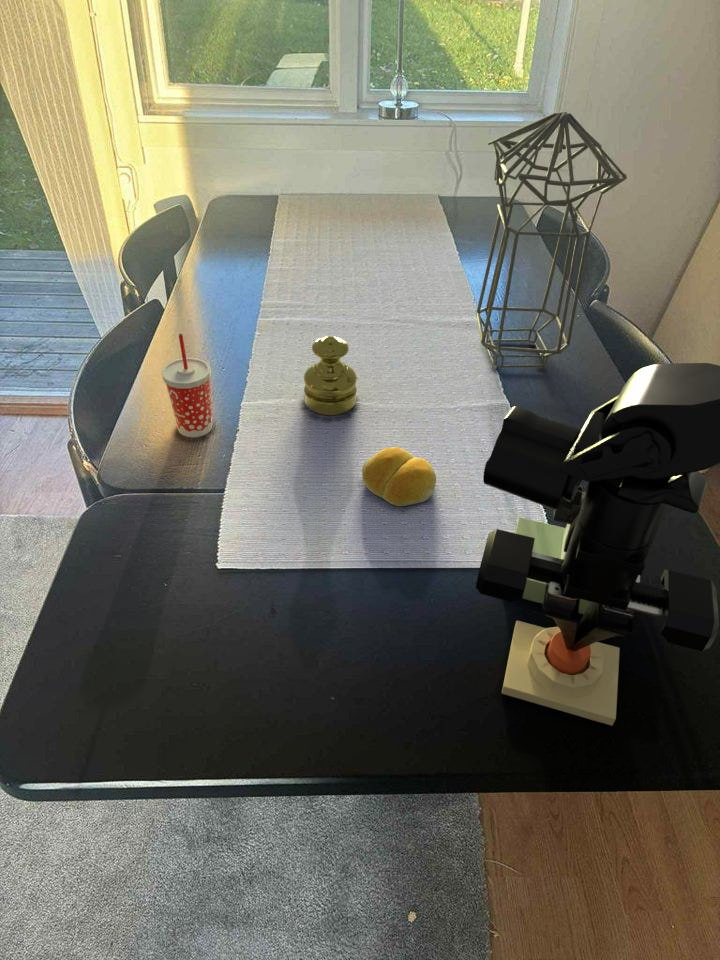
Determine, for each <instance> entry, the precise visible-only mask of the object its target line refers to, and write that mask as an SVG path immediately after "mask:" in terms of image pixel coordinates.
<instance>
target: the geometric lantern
mask: <svg viewBox="0 0 720 960" xmlns="http://www.w3.org/2000/svg"><path fill="white" fill-rule="evenodd" d="M569 126H570V127H571V128H572V129H573V131H574V132H575V133H576V135H578V137H579V138H580V139H581V140H582V142H577V143H571V137H570V136H571V135H570V127H569ZM557 129H558V131H557V135H556V138H555V142H554V143H547V142H548V141H549V139H550V138H551V136H552V135H553V134H554V133H555V131H556V130H557ZM529 132H530V133H529ZM527 133H529V134H528V135H527V136H525V137H524V138H522V139H521V140H520V141H514V140H512V139H515V138H517V137H519V136H522V135H524V134H527ZM564 140H565V141H564ZM564 143H565V144H564ZM500 144H501V145H502V146H503V147H505V148H506V149H507V150H506V151H504V149H503V148H502V146H501V145H500ZM491 145H492V146H493V151H494V152H493V153H494V157H495V166H494V175H493V176H494V177H493V181H495V184H496V186H498V191H499V199H500V203H497V210H498V214H497V219H496V222H495V228H494V232H493V237H492V241H491V246H490V249H489V254H488V259H487V263H486V268H485V272H484V277H483V281H482V286H481V290H480V295H479V298H478V303H477V307H476V312H475V315H476V319H477V326H478V332H479V339H480V344H481V345H482V347H484V348H485V349H486V351H487V354H488V356H489V359H490V361H491V364H492V366H494V367H496V368H500V369H501V368H544V367H545V365H546V364H547V362H548V359H549V357H551V356H554V355H560V354H562V353H563V352H564V351H565V350H566V349H568V348H569V347H570V345H571V338H572V332H573V327H574V323H575V317H576V312H577V306H578V301H579V297H580V291H581V286H582V281H583V275H584V269H585V265H586V260H587V254H588V248H589V244H590V240H591V239H590V238H591V231H592V228H593V225H594V221H595V219H596V215H597V213H598V210H599V206H600V203H601V200H602V198H603V195H604V194H606V193H607V192H609V191H610V190H612V189H613V188H615V187H616V186H618V185H620V184H621V183H623V182H624V181H626V180H627V179H628V176H627V174H626V173H624V172H623V170H622V169H621V168H620V167H619V166H618V165H617V164H616V163H615V162H614V160H613V159H612V158H611V157H610V156H609V155H608V154H607V153H606V151H605V150H604V149H603V146H602V144H601V143H599V141H597V140H596V139H595V138H594V137H593V136H592V135H591V134H590V133H589V132H588V131H587V130H586V129H585V128H584V127H583V126H582V124H581V123H580V122H579V121H578V120H577V119H576V118H575V117H574V115H573V114H572V113H570V112H569V113H568V112H567V111H560V112H553V113H551V114H548V115H547V116H544V117H542V118H539V119H538V120H535V121H533V122H531V123H529V124H527V125H525V126H522V127H520V128H518V129H516V130H513V131H511V132H509V133H507V134H505V135H501V136H499V137H498V138H495V139H493V140H491V141H489V142H487V146H491ZM543 148H544V149H553V150H552V153H551V157H550V160H549V161H550V162H549V164H548V166H545V165H543V166H542V165H539V164H538V165H537V164H536V162H537V159H538V155H539V152H540V151H541V150H542V149H543ZM524 149H525V151H523V150H524ZM572 149H578V150H576V152H574V153H573V154H572ZM588 149H589V150H590V151H591V153H592V155H593V156H594V158H595V159H596V178H594V179H592V178H591V179H581V180H575V179H574V168H573V167H574V166H573V160H574V159H575V158H576V157H578V156H579V155H581V154H582V153H583V152H585V151H586V150H588ZM563 150H565V151H566V159H565V160H563V161H562V162H560V163H559V164H558V165H556V163H557V160H558V156H559V154H561V153H563ZM521 151H523V153H521ZM532 152H533V153H532ZM531 153H532V154H531ZM530 154H531V155H530ZM529 155H530V157H529V158H528V156H529ZM515 156H516V157H518V158H517V159H516V160H515V161H514V162H513V163H512V164H511V165H510V166H509V168H508V167H507V166H506V165H507V163H508V162H509V161H511V160H512V159H513V158H514V157H515ZM523 162H524V164H523V165H522V167H521V169H520V170H519V171H518V172H517V174H516V175H515V176H514V175H511V174H512V172H513V171H514V170H516V168H517V167H518V166H519V165H520V164H521V163H523ZM528 165H529V167H528V169H527V171H526V172H525V173H522V172H523V171H524V170H525V169H526V167H527V166H528ZM611 165H612V166H613V167H612V166H611ZM564 166H567V170H568V171H567V172H568V181H563V179H562V177H561V174H560V172H559V170H561V169H562V168H563V167H564ZM533 169H534V170H538V171H543V172H547V173H546V175H538V174H531V172H532V170H533ZM602 169H603V170H602ZM503 172H504V173H503ZM552 173H556V176H557V178H558V180H554V179H551V178H552V177H551V176H552ZM605 175H606V178H604V177H605ZM508 178H509V179H511V180H514V181H516V180H517V179H518V180H519V181H520V182H519V184H518V185H517V187H516V188H515V190H514V192H513V193H512V195H511V196H510V198H509V200H508V198H507V197H508V196H507V183H506V182H507V181H508ZM528 180H531V181H532V180H533V181H541V182H544V189H543V193H541V192H540V191H539V190H538V189H537V188H536V187H535V186H533V184H532V183H530V181H528ZM549 185H550V186H558V187H562V190H563V192H564V194H565V199H556V200H555V199H554V200H549V199H548V186H549ZM586 185H587V186H588V185H591V186H590V188H589V189H588V190H586V191H584V192H582V193H580V194H576V195H575V196H573V197H570V194H571V186H572V187H573V186H575V187H576V186H586ZM523 186H525V187H527V188H528V189H529V190H530V191H531V192H532V193H533V194H534V195H535V196H536V197H537V198H538V199H539V200H540V201H542V202H531V201H530V202H527V201H514V200H515V198H516V197H517V195H518V194H519V192H520V190H521V188H522V187H523ZM598 191H599V196H598V199H597V202H596V205H595V209H594V212H593V215H592V218H591V221H590V224H589V227H588V225H587V223H586V221H585V220H584V218H583V216H582V215H581V213H580V211H579V209H580V207H582V205H583V204H584V202H585V201H586V200H587V199H588V197H590V196H591V195H592V194H594V193H597V192H598ZM578 200H579V202H578V203H577V204H576V205H575V207H574V205H573V203H574V202H577V201H578ZM514 206H540V207H539V208H538V209H537V210H536V211H535V212H534V213H533V214H532V215H531V216H530V217H529V218H528V219H527V220H526V221H524V223H523V224H522V225H521V226H520V227H519V228H518V229H515V228H513V226H509V225H510V221H511V217H512V213H513V207H514ZM545 207H565V210H564V214H563V215H564V216H563V218H562V222H561V227H560V231H559V232H538V231H521V230H523V228H525V227H526V226H527V225H528V223H529V222H531V221H532V220H533V219H534V218H535V217H536V216H537V215H538V214H539V213H540V212H541V211H542V210H543V209H544V208H545ZM507 208H508V211H507ZM569 216H570V220H571V223H572V225H571V228H570V229H571V230H570V233H565V230H566V226H567V221H568V218H569ZM578 218H579V220H580V222H581V224H582V226H583V228H584V229H585V231H584V232H580V230H579V226H578V223H577V222H578ZM501 222H502V225H503V232H502V236H501V241H500V245H499V249H498V254H497V257H496V262H495V267H494V271H493V275H492V279H491V284H490V287H489V292H488V297H487V301H486V306H485V307H483V308H482V305H483V300H484V296H485V292H486V287H487V283H488V279H489V274H490V270H491V266H492V261H493V257H494V251H495V247H496V243H497V238H498V234H499V230H500V225H501ZM510 233H512V234H513V235H514V237H513V242H512V249H511V253H510V254H511V255H510V259H509V260H510V261H509V267H508V272H507V279H506V285H505V291H504V296H503V297H504V298H503V304H502V306H494V304H495V298H496V294H497V291H498V286H499V281H500V278H501V273H502V268H503V264H504V260H505V256H506V251H507V246H508V242H509V237H510ZM520 235H522V236H523V235H524V236H545V237H558V240H557V245H556V248H555V252H554V256H553V260H552V265H551V269H550V272H549V276H548V280H547V285H546V289H545V293H544V297H543V300H542V304H541V307H539V308H538V307H511V306H509V307H508V301H509V296H510V290H511V284H512V277H513V271H514V266H515V259H516V254H517V248H518V243H519V236H520ZM564 237H568V238H569V241H568V247H567V252H566V257H565V263H564V268H563V272H562V273H563V274H562V278H561V279H562V280H561V286H560V289H559V297H558V302H557V307H556V311H555V312H553V311H551V310H549V309H547V308H546V306H547V302H548V298H549V294H550V291H551V287H552V282H553V280H554V279H553V278H554V275H555V270H556V266H557V263H558V259H559V253H560V251H561V247H562V242H563V238H564ZM583 237H585V238H584V244H583V247H582V248H583V249H582V255H581V260H580V265H579V270H578V275H577V280H576V285H575V286H576V287H575V292H574V297H573V303H572V308H571V314H570V319H569V325H568V330H567V334H566V331H565V326H566V320H567V315H568V309H569V304H570V298H571V292H572V287H573V281H574V277H575V270H576V263H577V258H578V252H579V247H580V242H581V241H580V240H581V238H583ZM574 239H575V243H574ZM573 243H574V247H573ZM572 248H573V250H572ZM572 251H573V253H572ZM571 255H572V259H571ZM570 260H571V264H570ZM569 265H570V271H569ZM568 271H569V276H568ZM567 276H568V282H567ZM566 283H567V288H566V295H565V299H564V304H563V303H562V302H563V298H564V292H565V287H566ZM562 304H563V310H562V317H560V315H561V314H560V313H561V308H562ZM492 311H501V316H500V323H499V328H495V329H493V327H492V323H491V316H492ZM507 311H511V312H536V313H537V315H536V318H535V320H534V322H533V324H532V327H531V328H530V327H529V328H527V327H526V328H504V327H505V326H504V325H505V319H506V313H507ZM542 312H543V313H545V314H547V315H548V316H551V318H550V319H549V320H548V321H547V322H545V323H543V325H542V326H541V327H540V328H538V329H537V330H536V329H535V328H536V326H537V324H538V321H539V318H540V316H541V315H542ZM482 313H485V316H486V319H485V322H484V319H482V317H481V314H482ZM554 320H556V322H557V325H558V328H559V334H558V340H557V346H556V347H555V348H554V349H548V348H547V346H546V344H545V343H544V340H543V338H542V335H540V332H541V331H542V330H544V329H545V328H546V327H547V326H548V325H549V324H551V323H552V322H553V321H554ZM495 332H497V333H498V335H497V339H493V334H494V333H495ZM503 332H528V336H527V338H525V339H524V338H519V339H518V338H515V339H513V338H511V339H507V338H505V339H502V338H503V337H502V336H503ZM532 332H533V333H534V339H533V340H532V339H531V336H532ZM537 339H538V340H539V342H540V343H541V345H542V347H543V349H541V348H540V347H539V345H538V342H537ZM563 341H564V343H563V344H562V342H563ZM513 342H514V343H516V342H517V343H518V342H519V343H520V342H522V343H523V342H524V343H525V342H528V343H531V344H534V346H535V348H527V347H513V346H511V347H509V346H502V345H501V344H502V343H513ZM495 343H496V345H495ZM503 351H504V352H521V353H534V354H503V353H502V352H503ZM535 353H536V354H535ZM537 353H538V354H537ZM492 354H493V355H494V357H493V355H492ZM498 358H501V361H500V364H499V363H498ZM505 358H541V364H504V360H505Z"/></svg>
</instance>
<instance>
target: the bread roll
mask: <svg viewBox="0 0 720 960" xmlns="http://www.w3.org/2000/svg"><path fill="white" fill-rule="evenodd" d="M361 475H362V480H363V483H364V485H365V487H366V488H367V489H368V490H369V491H370V492H371V493H373V494H374V495H376V496H378V497H379V498H382V499H383V500H384V501H386V502H388V503H389V504H391V505H393V506H396V507H406V506H411V505H416V504H421V503H424V502H426V501H427V500H428V499H430V498H431V497H432V495H433V494H434V491H435V487H436V484H437V483H436V482H437V476H436V472H435V469H434V468H433V466H432V464H431V463H430V462H429V461H428V460H426V459H424V458H421V457H415V456H414V455H413V454H412V453H410V452H409V451H408V450H406V449H404V448H401V447H397V446H396V447H386V448H384V449H383V448H382V449H381V450H379V451H378V452H376V453H375V454H373V456H371V457H370V458H369V459H367V460H366V462H365V463H364V464H363V466H362V468H361Z"/></svg>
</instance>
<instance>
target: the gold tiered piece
mask: <svg viewBox="0 0 720 960" xmlns="http://www.w3.org/2000/svg"><path fill="white" fill-rule="evenodd" d="M349 349H350V347H349V344H348V342H347V341H345V340H344V339H343V338H340V337H336V336H332V335H331V336H330V335H329V336H323V337H320V338H318V339H316V340H315V341H314V342H313V343H312V345H311V351H312V353H313V354H314V355H315V356H316V357H318V358H319V361H317V362H316V363H314V364H313V363H312V364H311V365H310V366H308V367H307V369H306V370H305V371H304V374H303V382H304V387H303V392H304V403H305V405H306V406H307V408H308V409H310V410H311V411H312V412H314V413H317V414H320V415H324V416H336V415H337V416H338V415H342V414H345V413H347V412H349V411H350V410H351V409H353V408H354V407H355V405H356V403H357V392H358V391H357V389H358V388H357V386H356V385H357V382H358V376H357V373H356V371H355V370H354V368H353V367H352V366H350V365H349V364H347V363H345V362H344V361H343V360H341V358H343V357H345V356H346V355H348V353H349Z"/></svg>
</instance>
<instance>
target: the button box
mask: <svg viewBox="0 0 720 960" xmlns="http://www.w3.org/2000/svg"><path fill="white" fill-rule="evenodd" d="M558 632H561V631H560V629H559V627H558V626H553V627H543V626H539V625H536V624H533V623H532V624H531V623H528V622H525V621H521V620H516V621H515V624H514V627H513V633H512V639H511V643H510V649H509V653H508V658H507V664H506V669H505V674H504V680H503V683H502V688H501V694H502V695H506V696H509V697H512V698H516V699H519V700H522V701H526V702H530V703H532V704H536V705H539V706H543V707H546V708H550V709H553V710H556V711H561V712H564V713H568V714H571V715H573V716H576V717H580V718H584V719H588V720H591V721H595V722H598V723H602V724H605V725H609V726H611V727H612V726H614V723H615V721H616V719H617V704H618V689H619V688H618V686H619V667H620V651H621V649H620V647H618V646H615V645H611V644H606V643H603V642H600V641H598V642H595V643H593V644H590V649H591V654H590V657H589V659H588V662H587V664H586V667H585V668H584V670H582V671H581V672H579V673H577V674H566V673H562V672H560V671H558V670H557V669H555V668H554V667H553V666H552V665H551V664H550V662H549V660H548V657H547V651H548V647H549V645H550V642H551V639H552V637H553V636H554V635H555V634H556V633H558Z"/></svg>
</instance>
